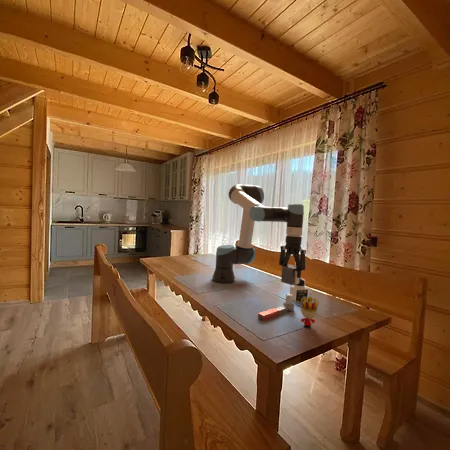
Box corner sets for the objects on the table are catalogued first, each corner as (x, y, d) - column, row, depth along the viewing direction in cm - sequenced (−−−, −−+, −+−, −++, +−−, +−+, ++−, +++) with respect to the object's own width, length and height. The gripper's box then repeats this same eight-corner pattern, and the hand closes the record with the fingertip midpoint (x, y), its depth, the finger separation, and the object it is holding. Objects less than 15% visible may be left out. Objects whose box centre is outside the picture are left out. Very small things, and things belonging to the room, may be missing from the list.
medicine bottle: (295, 302, 140) (297, 280, 139) (289, 297, 147) (290, 277, 146) (307, 301, 142) (309, 280, 141) (300, 297, 149) (301, 276, 148)
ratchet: (287, 307, 133) (288, 292, 132) (295, 310, 129) (297, 295, 128) (256, 318, 118) (257, 301, 117) (264, 322, 114) (266, 304, 113)
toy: (312, 323, 115) (315, 290, 114) (319, 331, 108) (322, 296, 107) (296, 322, 115) (299, 290, 114) (302, 330, 108) (305, 295, 107)
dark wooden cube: (289, 279, 132) (290, 264, 132) (299, 283, 127) (300, 267, 127) (281, 281, 128) (282, 265, 128) (291, 285, 123) (293, 268, 123)
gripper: (273, 233, 131) (270, 278, 133) (306, 238, 116) (303, 288, 118) (282, 233, 136) (279, 276, 138) (316, 237, 121) (312, 286, 123)
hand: (290, 281), depth 128 cm, fingers closed on dark wooden cube, 6 cm apart
